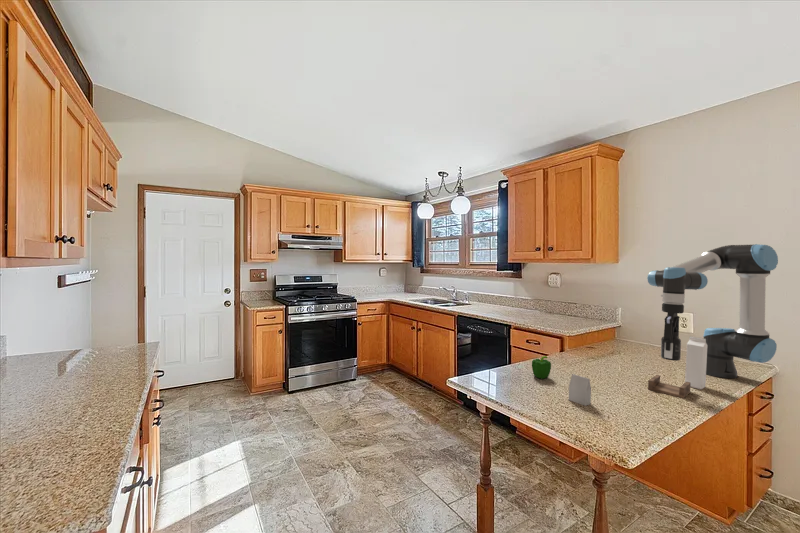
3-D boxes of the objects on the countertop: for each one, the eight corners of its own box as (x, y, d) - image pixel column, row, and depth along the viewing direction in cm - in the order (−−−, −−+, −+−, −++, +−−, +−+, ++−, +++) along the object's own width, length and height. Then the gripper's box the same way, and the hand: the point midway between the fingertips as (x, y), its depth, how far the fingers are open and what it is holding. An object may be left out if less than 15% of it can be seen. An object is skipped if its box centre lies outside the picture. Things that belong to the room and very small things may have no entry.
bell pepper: (530, 378, 168) (531, 357, 168) (531, 373, 176) (532, 352, 176) (550, 381, 165) (551, 359, 165) (550, 376, 173) (551, 355, 173)
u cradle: (655, 383, 166) (656, 374, 166) (690, 391, 157) (690, 382, 157) (647, 389, 158) (648, 380, 158) (683, 398, 149) (684, 388, 149)
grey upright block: (585, 405, 138) (586, 379, 138) (568, 399, 144) (569, 374, 143) (590, 403, 140) (591, 378, 140) (573, 398, 146) (574, 373, 146)
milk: (701, 389, 160) (704, 339, 159) (684, 385, 165) (687, 337, 164) (705, 386, 164) (708, 338, 163) (688, 382, 169) (691, 335, 168)
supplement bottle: (676, 357, 159) (678, 330, 159) (683, 361, 153) (684, 333, 153) (658, 355, 162) (659, 328, 161) (663, 359, 155) (664, 331, 155)
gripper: (668, 300, 166) (666, 351, 167) (655, 303, 153) (653, 358, 154) (689, 302, 160) (686, 354, 161) (678, 305, 147) (675, 362, 148)
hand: (670, 356), depth 157 cm, fingers closed on supplement bottle, 7 cm apart
